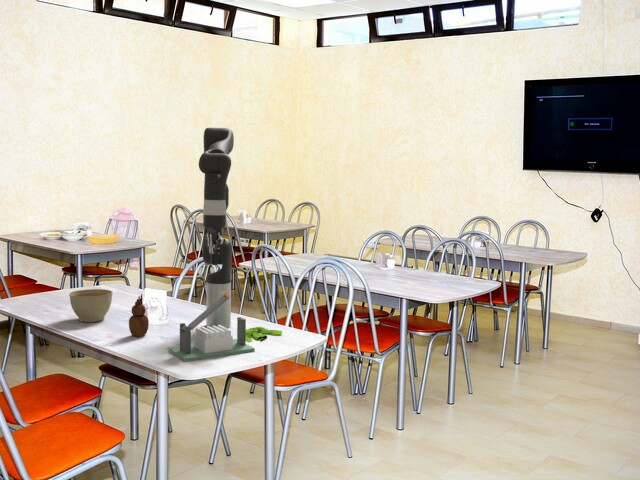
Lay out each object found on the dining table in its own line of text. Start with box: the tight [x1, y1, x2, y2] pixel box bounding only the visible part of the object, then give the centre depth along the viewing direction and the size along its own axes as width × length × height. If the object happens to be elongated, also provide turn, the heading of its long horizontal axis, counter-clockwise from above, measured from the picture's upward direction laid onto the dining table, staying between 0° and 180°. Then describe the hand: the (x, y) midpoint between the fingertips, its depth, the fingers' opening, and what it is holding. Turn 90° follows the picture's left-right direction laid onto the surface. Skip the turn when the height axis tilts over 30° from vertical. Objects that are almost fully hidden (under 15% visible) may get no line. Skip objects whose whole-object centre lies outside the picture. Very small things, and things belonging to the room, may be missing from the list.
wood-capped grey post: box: [181, 291, 229, 331], centre depth 234 cm, size 19×3×2 cm
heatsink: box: [168, 316, 256, 363], centre depth 237 cm, size 14×25×10 cm, turn 123°
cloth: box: [246, 326, 283, 343], centre depth 259 cm, size 20×22×2 cm
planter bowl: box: [68, 288, 113, 323], centre depth 276 cm, size 16×16×11 cm
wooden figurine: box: [128, 293, 150, 337], centre depth 254 cm, size 7×6×15 cm
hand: (214, 264), depth 238 cm, fingers closed
